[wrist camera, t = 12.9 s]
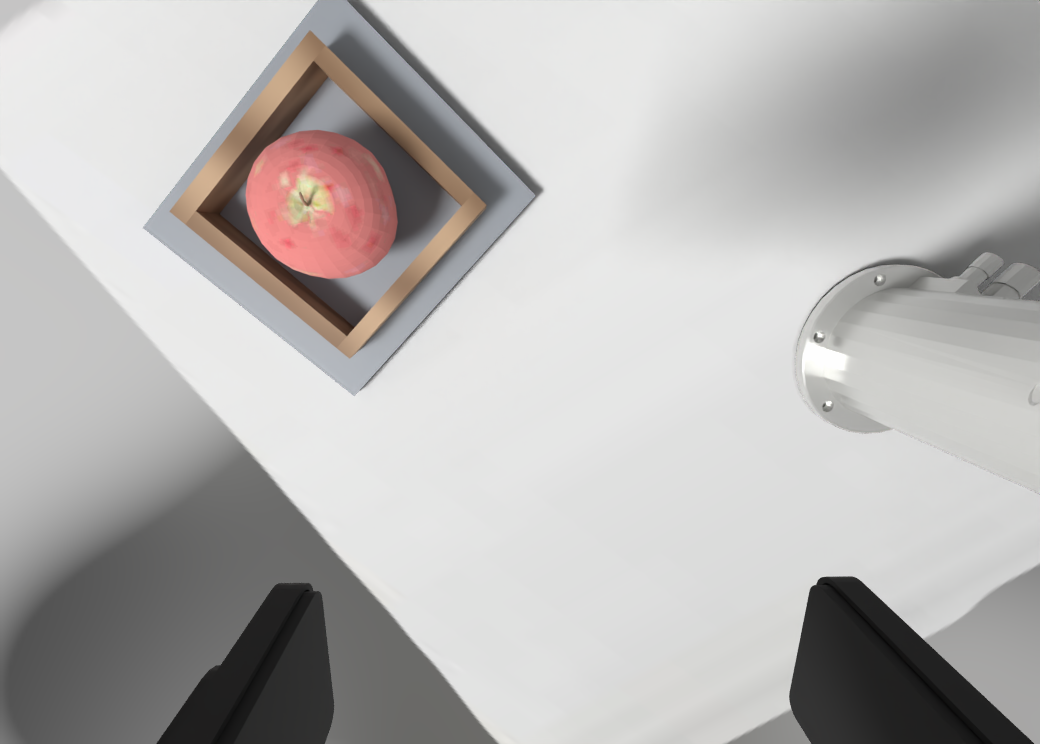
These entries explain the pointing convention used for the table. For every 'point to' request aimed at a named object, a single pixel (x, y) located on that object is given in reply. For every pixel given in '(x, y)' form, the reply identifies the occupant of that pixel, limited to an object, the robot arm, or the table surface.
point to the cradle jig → (409, 169)
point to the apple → (322, 204)
